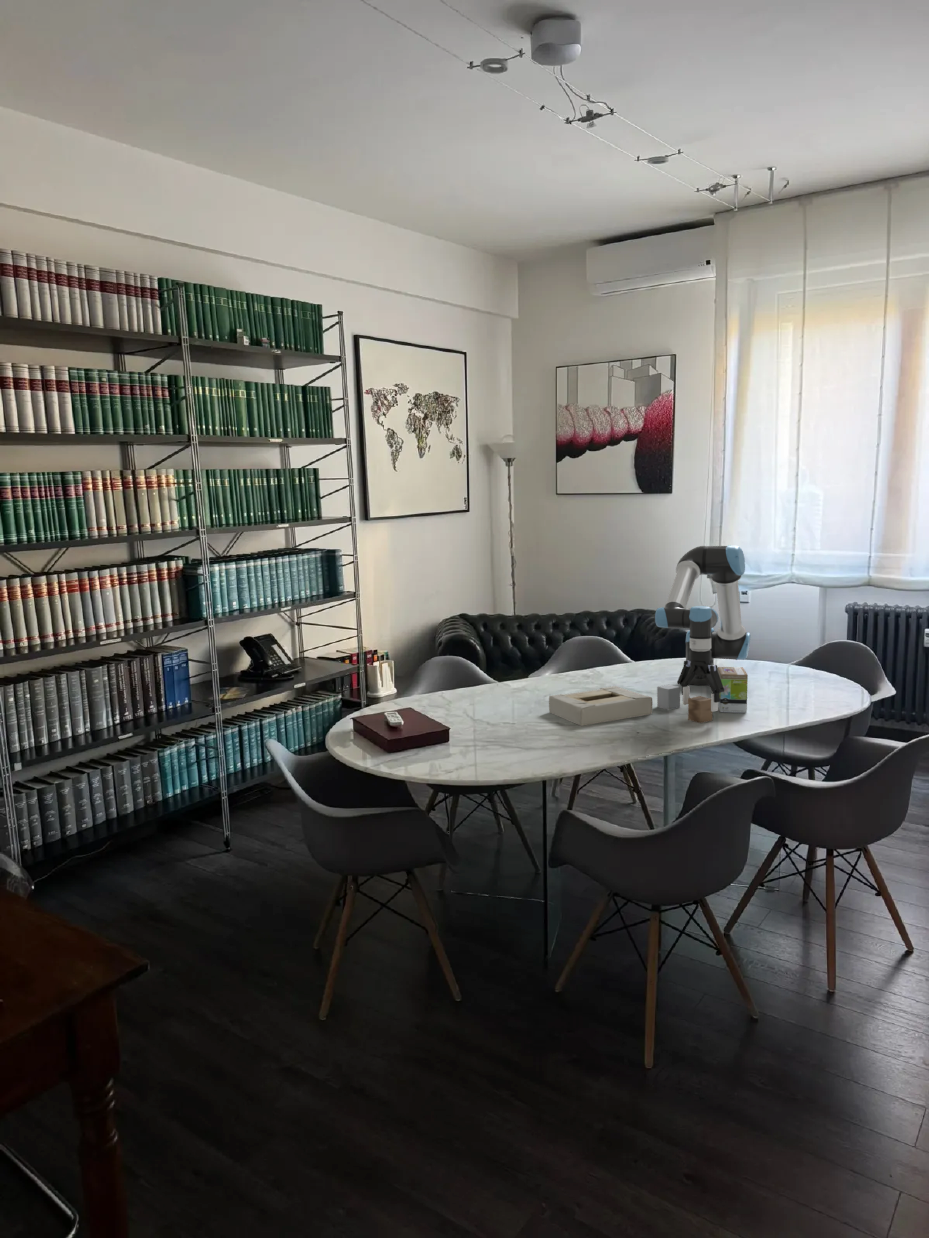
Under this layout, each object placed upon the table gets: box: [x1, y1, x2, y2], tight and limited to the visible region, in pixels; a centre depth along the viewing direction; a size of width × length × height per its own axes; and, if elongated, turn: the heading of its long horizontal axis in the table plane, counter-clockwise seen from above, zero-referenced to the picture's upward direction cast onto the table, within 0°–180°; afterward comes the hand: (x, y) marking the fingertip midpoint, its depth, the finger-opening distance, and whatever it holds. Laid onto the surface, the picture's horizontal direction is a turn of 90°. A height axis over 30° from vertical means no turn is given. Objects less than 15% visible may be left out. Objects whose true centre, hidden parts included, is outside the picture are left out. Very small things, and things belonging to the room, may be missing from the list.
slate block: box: [656, 684, 681, 710], centre depth 330 cm, size 6×6×8 cm
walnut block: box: [687, 695, 713, 724], centre depth 310 cm, size 6×6×8 cm
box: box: [548, 685, 653, 727], centre depth 324 cm, size 23×8×32 cm
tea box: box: [717, 666, 749, 714], centre depth 324 cm, size 15×10×15 cm
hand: (700, 707), depth 309 cm, fingers open, 13 cm apart
